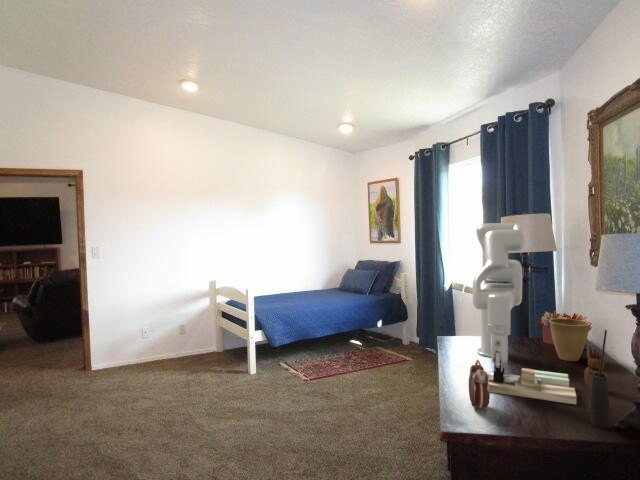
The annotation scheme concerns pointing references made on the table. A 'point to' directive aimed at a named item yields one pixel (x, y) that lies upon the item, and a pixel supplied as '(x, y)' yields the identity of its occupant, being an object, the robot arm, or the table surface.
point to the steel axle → (507, 378)
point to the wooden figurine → (593, 366)
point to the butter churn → (599, 397)
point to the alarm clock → (479, 387)
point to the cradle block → (552, 378)
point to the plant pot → (569, 337)
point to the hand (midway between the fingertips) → (498, 380)
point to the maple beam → (535, 389)
